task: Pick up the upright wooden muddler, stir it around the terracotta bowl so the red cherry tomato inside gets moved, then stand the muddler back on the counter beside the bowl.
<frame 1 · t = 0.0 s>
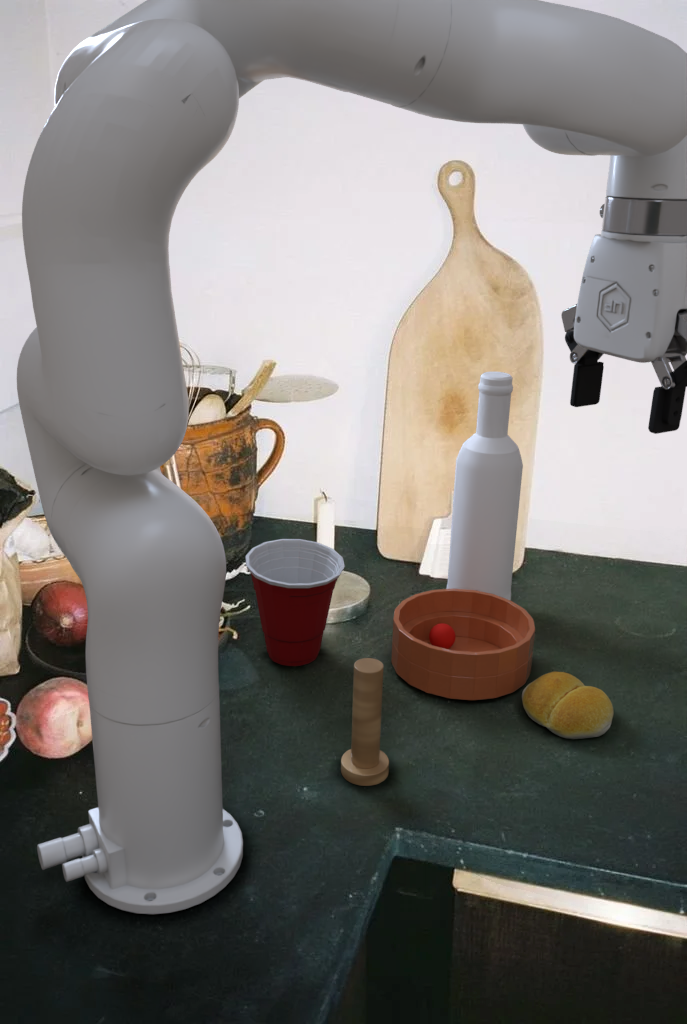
hand: (622, 417, 85), 31 cm above the worktop, tool pointing down, fingers open, 9 cm apart
muddler: (364, 771, 86), on the worktop
tomato: (442, 636, 106), point 2 cm above the worktop, touching bowl
bottle: (476, 612, 117), on the worktop
bowl: (460, 667, 104), on the worktop
plastic cup: (294, 656, 106), on the worktop
bread roll: (565, 718, 95), on the worktop
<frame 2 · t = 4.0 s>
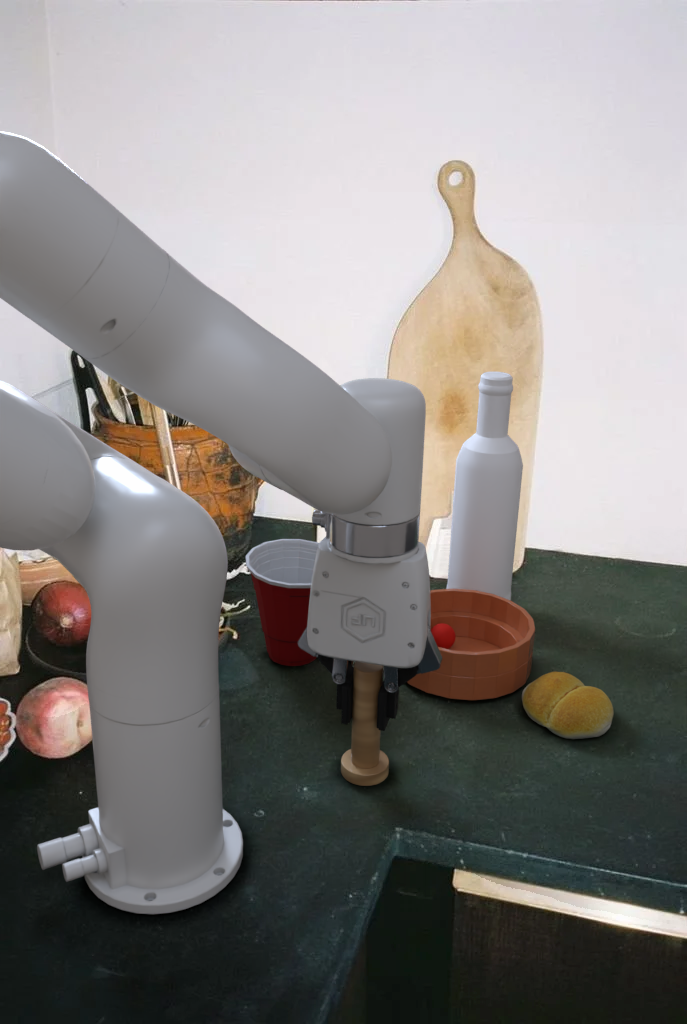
hand: (366, 717, 84), 6 cm above the worktop, tool pointing down, fingers closed on muddler, 2 cm apart
muddler: (364, 771, 86), on the worktop, touching gripper
everything else where it was.
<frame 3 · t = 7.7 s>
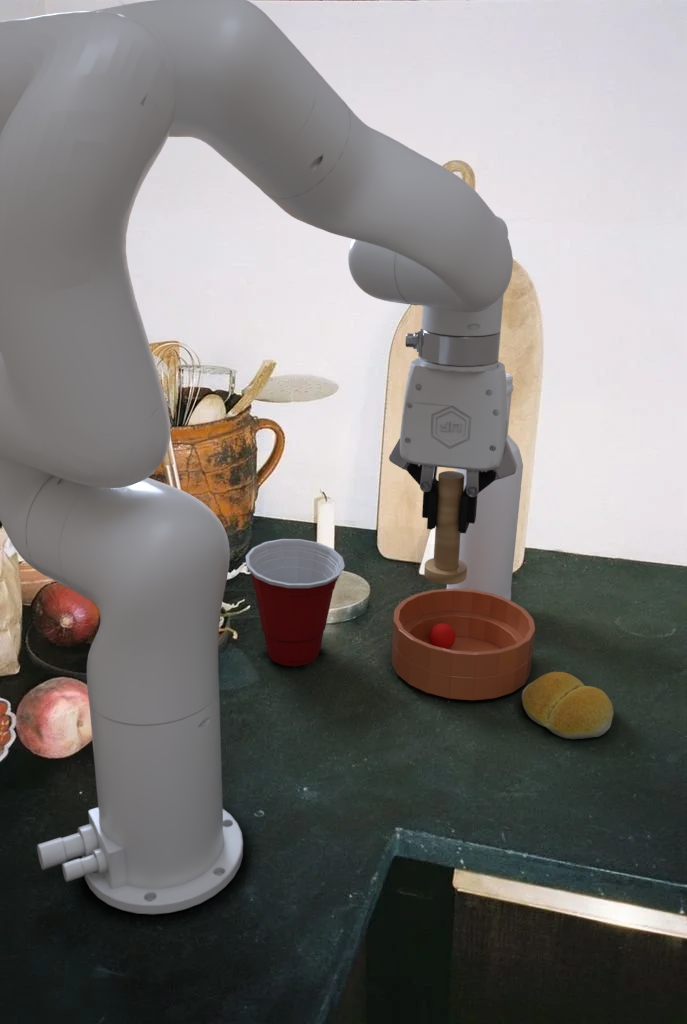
hand: (448, 525, 96), 18 cm above the worktop, tool pointing down, fingers closed on muddler, 2 cm apart
muddler: (445, 575, 98), point 12 cm above the worktop, touching gripper
everything else where it was.
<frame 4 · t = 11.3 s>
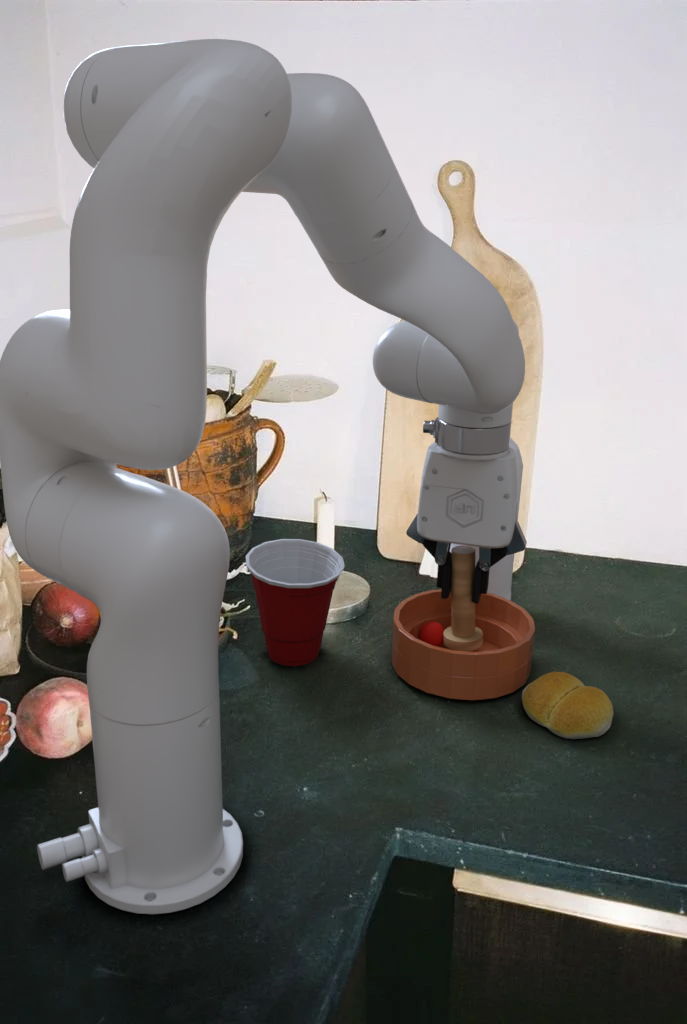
hand: (461, 594, 103), 8 cm above the worktop, tool pointing down, fingers closed on muddler, 2 cm apart
muddler: (463, 642, 105), point 2 cm above the worktop, touching gripper, tomato
tomato: (432, 634, 107), point 2 cm above the worktop, tilted 37°, touching bowl, muddler
everything else where it was.
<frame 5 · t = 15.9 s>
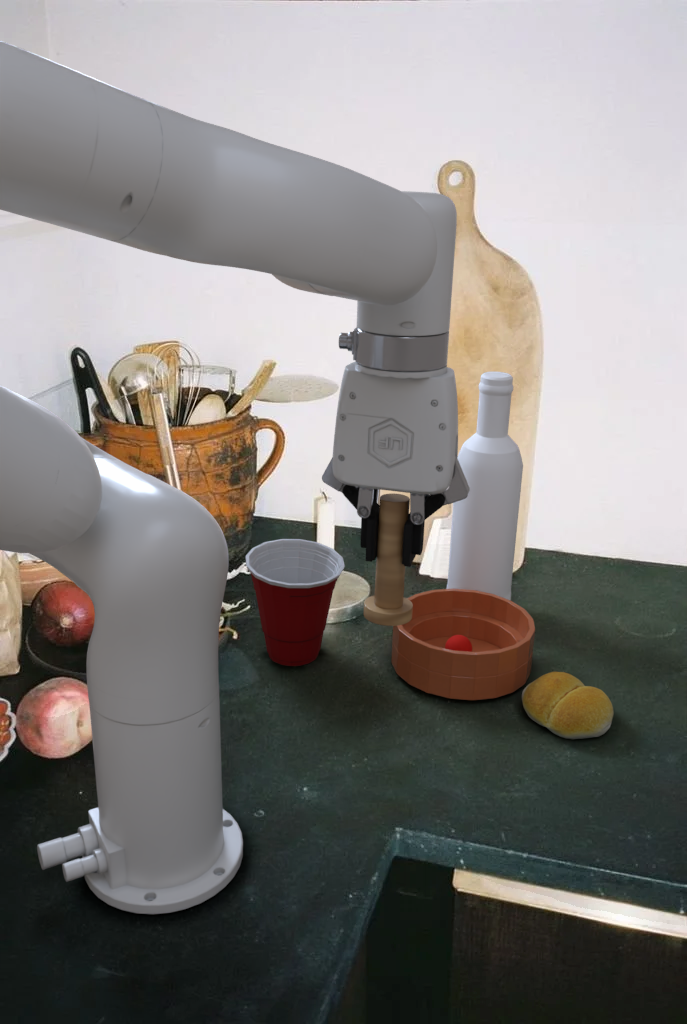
hand: (391, 556, 83), 20 cm above the worktop, tool pointing down, fingers closed on muddler, 2 cm apart
muddler: (387, 615, 85), point 14 cm above the worktop, touching gripper
tomato: (458, 648, 104), point 2 cm above the worktop, tilted 131°, touching bowl
everything else where it was.
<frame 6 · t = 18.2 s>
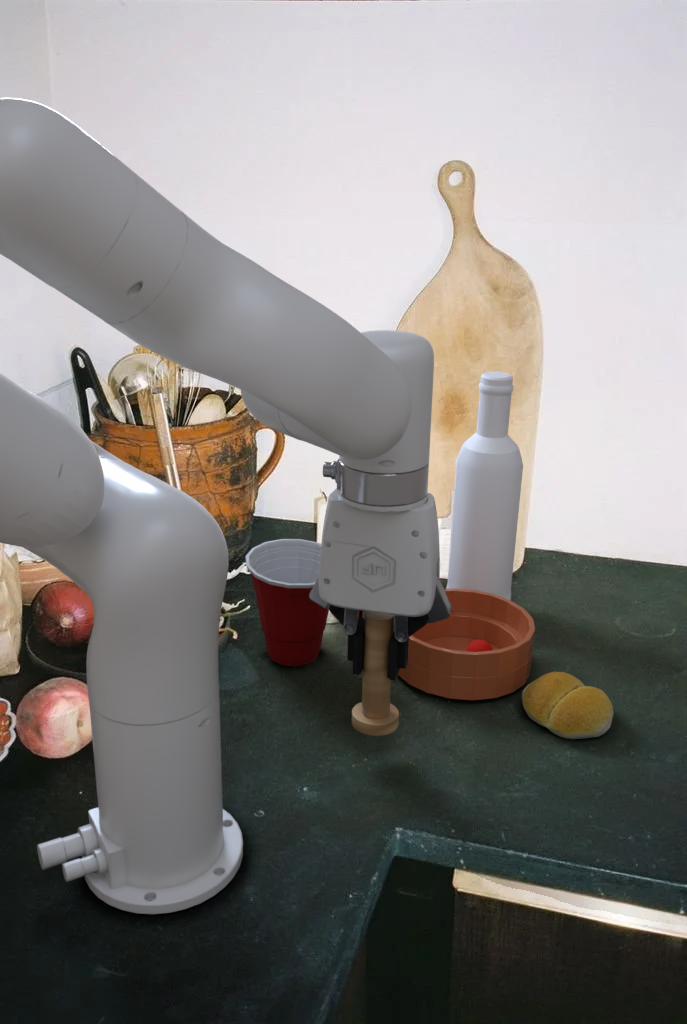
hand: (377, 668, 86), 9 cm above the worktop, tool pointing down, fingers closed on muddler, 2 cm apart
muddler: (375, 723, 87), point 3 cm above the worktop, touching gripper
tomato: (479, 653, 103), point 2 cm above the worktop, tilted 120°, touching bowl
everything else where it was.
when the fingers open (6 cm above the worktop, at t = 19.3 s): muddler stays where it is, on the worktop.
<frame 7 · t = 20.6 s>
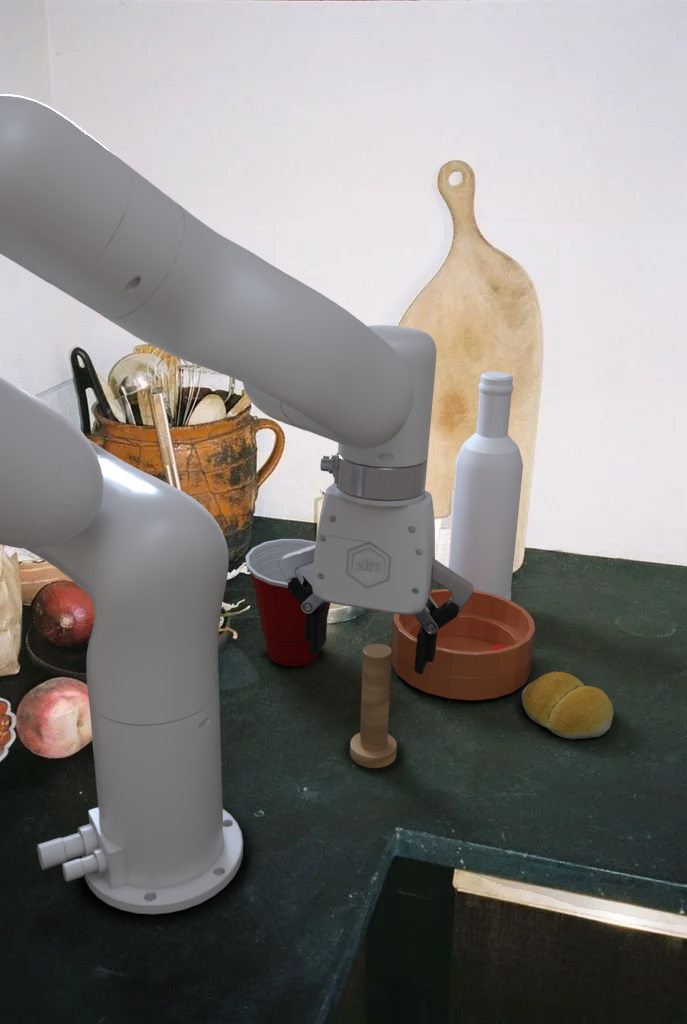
hand: (368, 657, 84), 11 cm above the worktop, tool pointing down, fingers open, 9 cm apart
muddler: (373, 754, 89), on the worktop
tomato: (501, 658, 102), point 2 cm above the worktop, tilted 45°, touching bowl
everything else where it was.
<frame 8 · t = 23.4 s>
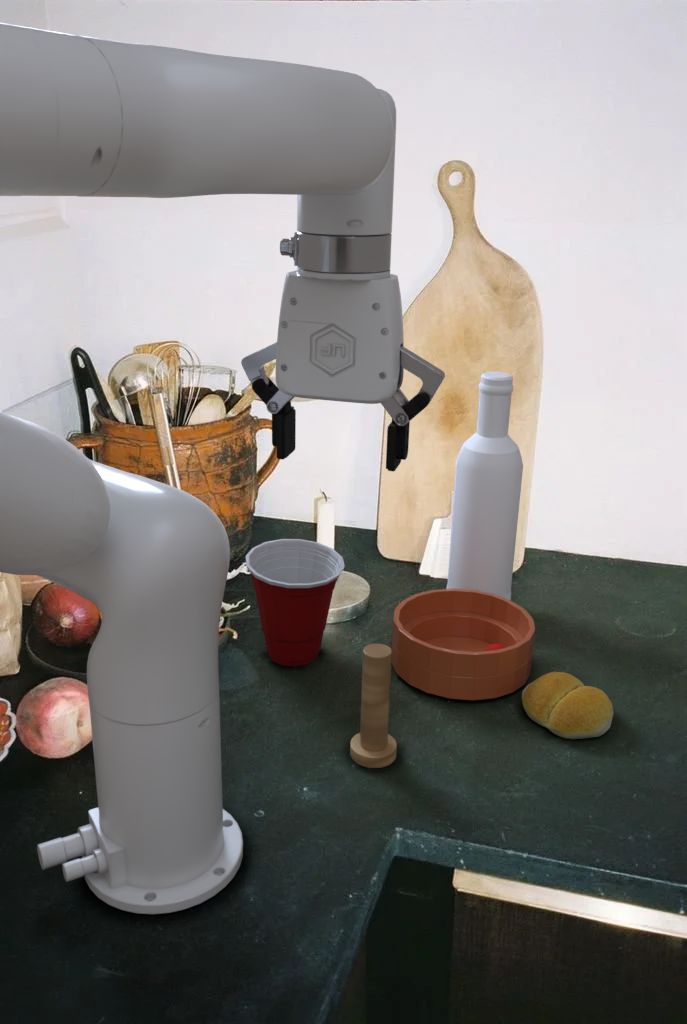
hand: (339, 460, 81), 28 cm above the worktop, tool pointing down, fingers open, 9 cm apart
tomato: (497, 657, 102), point 2 cm above the worktop, tilted 57°, touching bowl
everything else where it was.
at the end: tomato moved 7.1 cm from its start; tomato inside the target area in the bowl (4.0 cm from its centre), point 2.1 cm above the bowl's base; muddler tilted 0° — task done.
